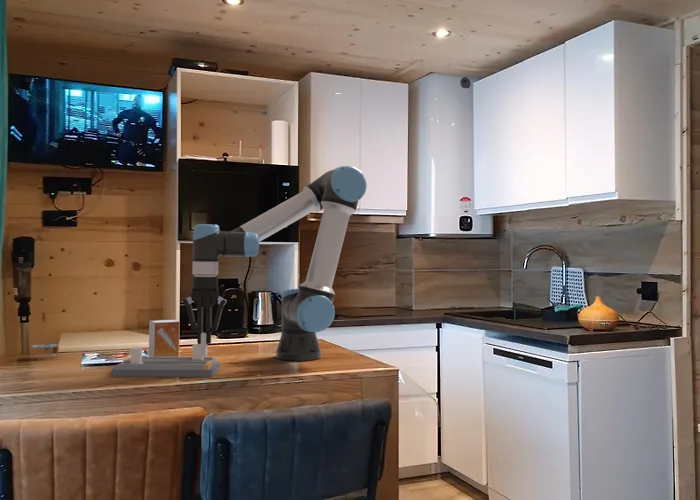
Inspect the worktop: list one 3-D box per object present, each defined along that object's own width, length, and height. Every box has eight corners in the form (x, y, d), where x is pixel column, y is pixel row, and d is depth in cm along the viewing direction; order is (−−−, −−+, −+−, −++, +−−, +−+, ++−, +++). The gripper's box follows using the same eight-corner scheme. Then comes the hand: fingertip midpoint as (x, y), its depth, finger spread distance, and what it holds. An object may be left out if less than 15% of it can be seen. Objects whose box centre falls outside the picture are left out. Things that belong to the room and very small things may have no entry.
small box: (154, 363, 195) (154, 322, 196) (148, 360, 201) (148, 320, 201) (179, 361, 200) (179, 321, 200) (173, 358, 205) (173, 319, 205)
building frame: (31, 358, 204) (31, 340, 204) (58, 356, 207) (58, 338, 207) (30, 361, 198) (31, 342, 198) (58, 359, 202) (58, 341, 202)
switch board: (219, 368, 189) (219, 356, 189) (211, 376, 176) (211, 364, 176) (126, 368, 188) (126, 356, 188) (111, 376, 175) (111, 364, 175)
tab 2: (203, 361, 187) (203, 343, 187) (201, 363, 184) (201, 345, 184) (193, 361, 187) (193, 343, 187) (191, 363, 184) (191, 345, 184)
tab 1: (143, 365, 179) (143, 346, 179) (139, 367, 176) (140, 348, 176) (132, 365, 179) (132, 346, 179) (129, 367, 176) (129, 348, 176)
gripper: (229, 275, 190) (227, 353, 189) (186, 275, 189) (184, 352, 189) (225, 276, 182) (223, 357, 182) (180, 276, 182) (178, 356, 181)
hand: (203, 354), depth 185 cm, fingers closed
